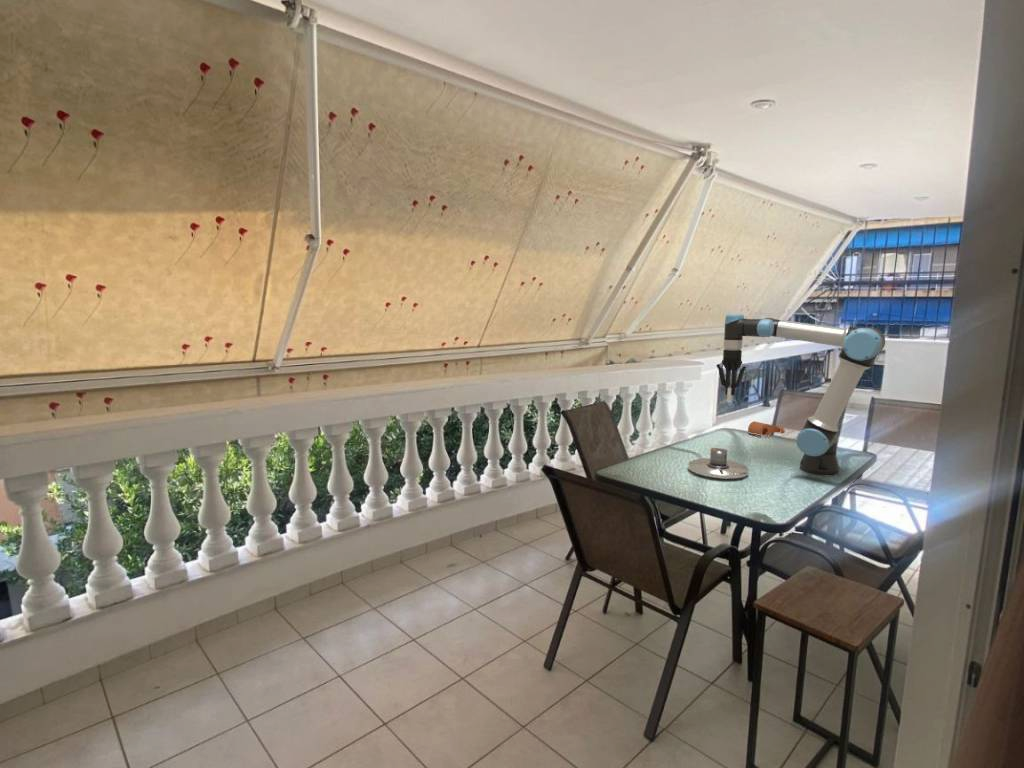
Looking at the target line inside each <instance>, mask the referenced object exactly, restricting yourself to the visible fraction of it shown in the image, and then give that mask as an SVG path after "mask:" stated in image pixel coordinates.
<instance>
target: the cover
mask: <svg viewBox="0 0 1024 768" xmlns="http://www.w3.org/2000/svg"><path fill="white" fill-rule="evenodd" d="M712 448H713V449H711V448H710V454H709V455H710V457H709V458H710V463H709V466H710V467H712V468H716V469H726V468H728V465H727V460H728V450H727V449H725V448H718V447H712Z"/></svg>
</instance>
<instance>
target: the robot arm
mask: <svg viewBox="0 0 1024 768" xmlns="http://www.w3.org/2000/svg"><path fill="white" fill-rule="evenodd" d="M743 337H755V338H758V337H759V338H770V337H777V338H782V339H783V338H784V339H789V340H795V341H801V342H808V343H814V344H822V345H828V346H833V347H839V348H841V350H840V352H839V355H838V360H839V361H840V362H839V364H838V366H837V369H836V371H835V373H834V374H833V376H832V379H831V380H830V383H829V385H828V387H827V388H826V390H825V392H824V394H823V397H822V398H821V400H820V402H819V404H818V407H817V408H816V410H815V412H814V415H811V416H808V418H807V420H806V421H805V423H804V425H803V427H802V429H801V430H800V431H799V432H798V433H797V436H796V439H795V441H796V442H795V443H796V445H797V447H798V449H799V450H800V452H802V453H803V456H802V458H801V460H800V462H799V469H800V470H801V471H802V472H804V473H808V474H812V475H817V476H825V475H832V476H836V475H835V474H837V475H839V474H840V473H839V472H841V468H840V465H839V461H838V457H837V453H838V452H837V451H838V441H839V439H838V437H839V430H840V425H839V424H840V423H839V420H840V419H841V417H842V415H843V412H844V410H845V408H846V407H847V405H848V403H849V401H850V400H851V399H850V398H851V397H852V395H853V393H854V391H855V389H856V387H857V386H858V384H859V381H860V379H861V378H862V376H863V374H864V372H865V371H866V370H869V369H871V368H872V367H873V364H874V362H875V360H876V359H877V357H878V355H879V354H880V353H881V352H882V351H883V349H884V348H885V346H886V338H885V335H884V334H883V333H882V331H881V330H879V329H877V328H875V327H859V326H858V327H857V326H855V327H854V326H848V327H846V328H843V327H837V326H828V325H822V324H813V323H807V322H799V321H792V320H785V319H784V320H783V319H775V318H773V317H764V318H745V315H744V314H743V313H728V314H726V316H725V321H724V338H723V339H724V340H723V354H722V360H721V362H720V363H718V364H716V368H717V369H718V374H719V379H720V385H721V386H723V387H725V391H724V392H725V393H724V394H725V395H727V397H726V403H731V404H732V403H733V398H734V396H735V394H736V389H737V388H739V387H741V384H742V380H743V378H744V373H745V371H746V370H747V369H748V366H747V365H745V364H744V363H743V361H742V353H743V351H742V349H743ZM724 368H725V370H724ZM739 368H740V370H739ZM738 370H739V374H738V377H737V373H738ZM838 473H839V474H838Z"/></svg>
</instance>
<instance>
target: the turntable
mask: <svg viewBox="0 0 1024 768" xmlns="http://www.w3.org/2000/svg"><path fill="white" fill-rule="evenodd" d="M713 448H714V447H711V448H710V450H711V449H713ZM709 463H710V457H709V458H708V457H706V458H697V459H693V460H690V461H689V462H688V469H689V471H691V472H693V473H694V474H696V475H700V476H702V475H703V476H702V477H705V476H707V477H706V478H709V477H712V478H711V479H715V478H721V479H720V480H733V479H741V478H745V477H747V476H748V475H749V468H748V466H746V465H744V464H743V463H740V462H737V461H734V460H730V459H727V465H728V468H726V469H716V468H712V467H710V466H709Z"/></svg>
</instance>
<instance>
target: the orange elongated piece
mask: <svg viewBox="0 0 1024 768" xmlns="http://www.w3.org/2000/svg"><path fill="white" fill-rule="evenodd" d="M747 431H748V434H749V435H750V434H751V433H757V434H762V435H767V436H768V435H769V436H771V434H772V433H780V434H782V435H783V434H785V433H786V431H785V429H784V427H781V426H778V425H773V424H768V423H764V422H759V421H752V422H750V423H749V425H748V428H747ZM749 432H751V433H749ZM757 434H753V435H752V436H754V435H757ZM757 436H761V435H757ZM757 436H756V437H757Z"/></svg>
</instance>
